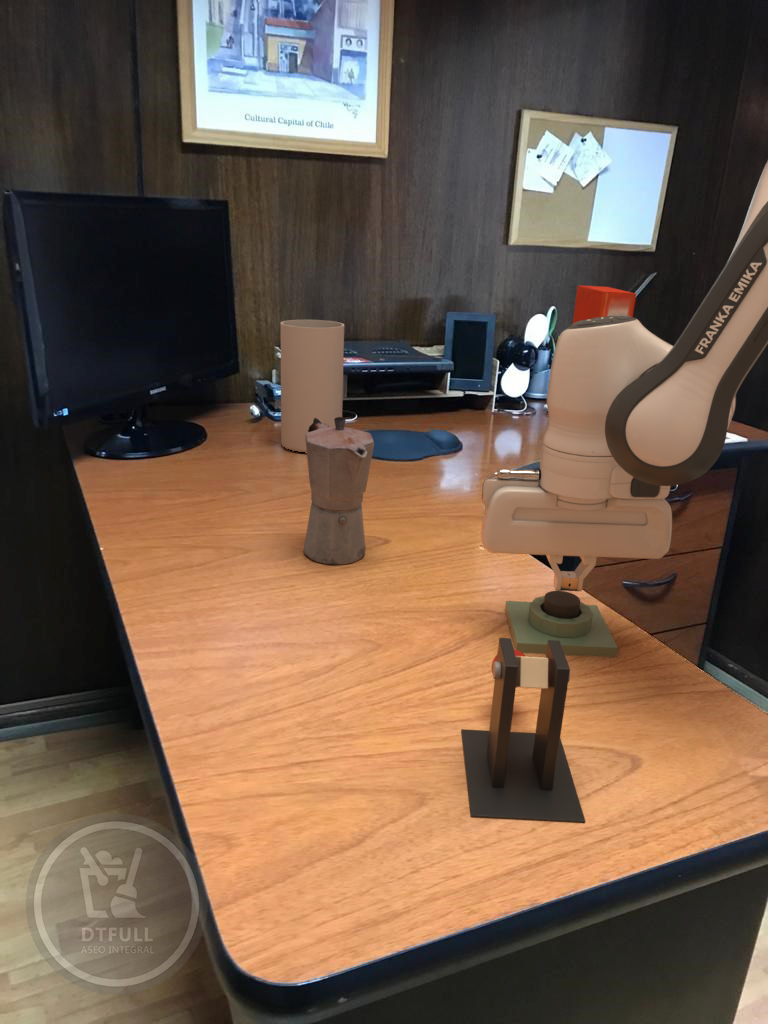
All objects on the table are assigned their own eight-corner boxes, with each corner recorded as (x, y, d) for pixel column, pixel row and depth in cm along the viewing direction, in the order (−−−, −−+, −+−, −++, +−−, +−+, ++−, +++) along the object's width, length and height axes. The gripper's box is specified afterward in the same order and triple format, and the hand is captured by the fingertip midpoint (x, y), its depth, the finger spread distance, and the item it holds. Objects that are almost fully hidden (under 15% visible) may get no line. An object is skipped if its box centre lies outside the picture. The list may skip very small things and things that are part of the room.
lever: (488, 686, 74) (489, 647, 74) (526, 688, 74) (527, 649, 74) (511, 694, 61) (512, 648, 61) (556, 697, 61) (557, 650, 61)
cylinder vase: (269, 443, 161) (268, 321, 153) (318, 435, 169) (319, 318, 160) (303, 458, 153) (304, 329, 144) (353, 448, 160) (357, 326, 152)
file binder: (590, 416, 198) (609, 286, 186) (615, 433, 182) (636, 292, 170) (560, 415, 197) (576, 285, 186) (581, 433, 181) (600, 291, 170)
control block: (594, 621, 94) (599, 591, 93) (615, 665, 85) (620, 633, 83) (504, 616, 94) (507, 587, 93) (515, 660, 85) (518, 628, 83)
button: (574, 604, 90) (576, 591, 89) (581, 621, 86) (583, 607, 86) (540, 603, 90) (541, 589, 89) (546, 619, 86) (547, 605, 86)
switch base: (460, 739, 71) (471, 616, 67) (557, 744, 71) (575, 621, 67) (469, 827, 61) (483, 688, 56) (583, 833, 61) (606, 695, 56)
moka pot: (333, 579, 102) (335, 432, 95) (276, 540, 113) (275, 406, 106) (391, 564, 107) (397, 423, 100) (331, 528, 119) (333, 399, 112)
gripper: (486, 477, 79) (477, 598, 84) (686, 484, 79) (665, 605, 84) (481, 459, 85) (472, 573, 90) (667, 466, 85) (648, 580, 90)
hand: (567, 588), depth 87 cm, fingers closed
